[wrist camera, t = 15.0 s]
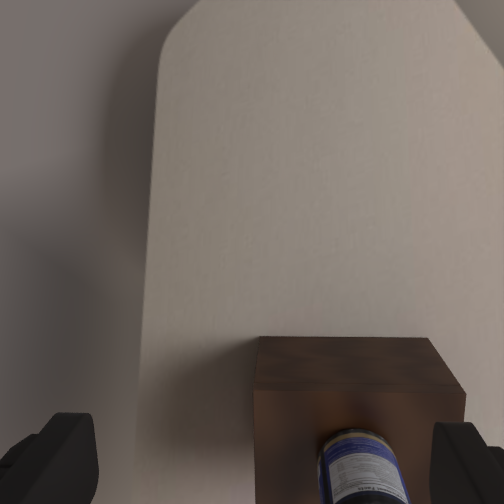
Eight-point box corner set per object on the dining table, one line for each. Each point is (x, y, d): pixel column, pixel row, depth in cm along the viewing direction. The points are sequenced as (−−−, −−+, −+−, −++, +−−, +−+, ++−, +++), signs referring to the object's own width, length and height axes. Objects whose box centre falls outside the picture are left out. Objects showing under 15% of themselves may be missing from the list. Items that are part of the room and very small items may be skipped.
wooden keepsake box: (261, 443, 49) (255, 519, 39) (259, 336, 46) (252, 390, 36) (420, 447, 48) (453, 527, 38) (428, 337, 45) (466, 393, 35)
